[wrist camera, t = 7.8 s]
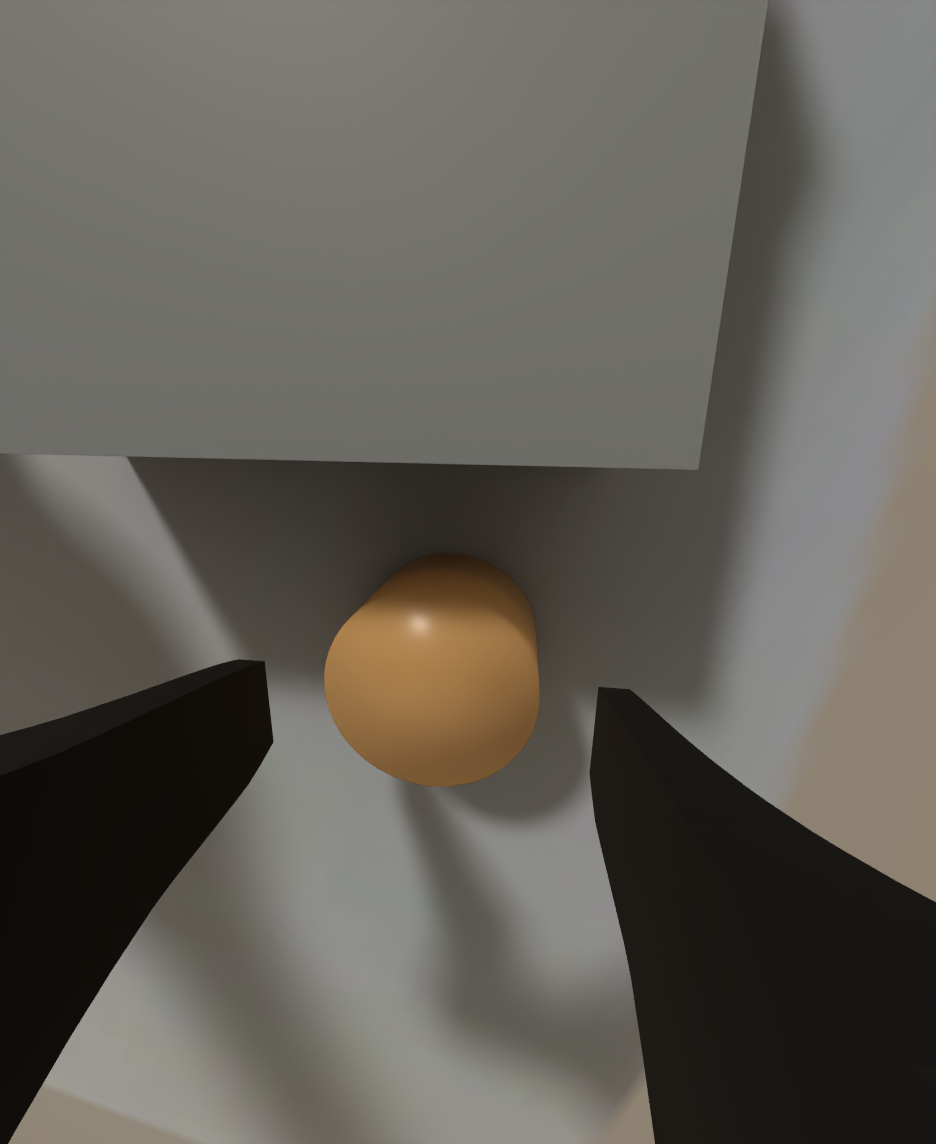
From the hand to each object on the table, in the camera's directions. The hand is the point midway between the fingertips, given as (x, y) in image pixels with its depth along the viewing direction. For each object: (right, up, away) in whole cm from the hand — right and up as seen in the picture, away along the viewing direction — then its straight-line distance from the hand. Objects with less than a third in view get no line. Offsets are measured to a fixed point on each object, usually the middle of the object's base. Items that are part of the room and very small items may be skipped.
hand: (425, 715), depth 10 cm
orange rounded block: (0, +1, +4) cm, 4 cm away
